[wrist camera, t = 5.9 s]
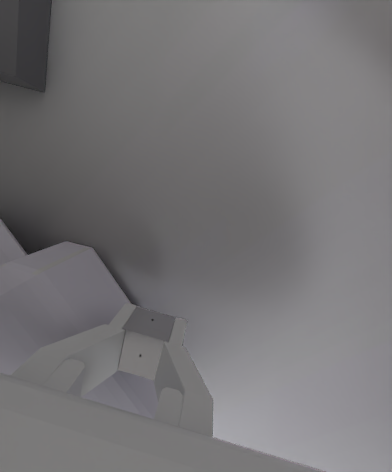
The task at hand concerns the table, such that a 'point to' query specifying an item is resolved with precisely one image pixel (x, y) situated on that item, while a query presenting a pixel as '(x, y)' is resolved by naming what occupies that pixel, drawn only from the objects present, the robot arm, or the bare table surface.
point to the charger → (62, 312)
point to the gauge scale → (24, 42)
